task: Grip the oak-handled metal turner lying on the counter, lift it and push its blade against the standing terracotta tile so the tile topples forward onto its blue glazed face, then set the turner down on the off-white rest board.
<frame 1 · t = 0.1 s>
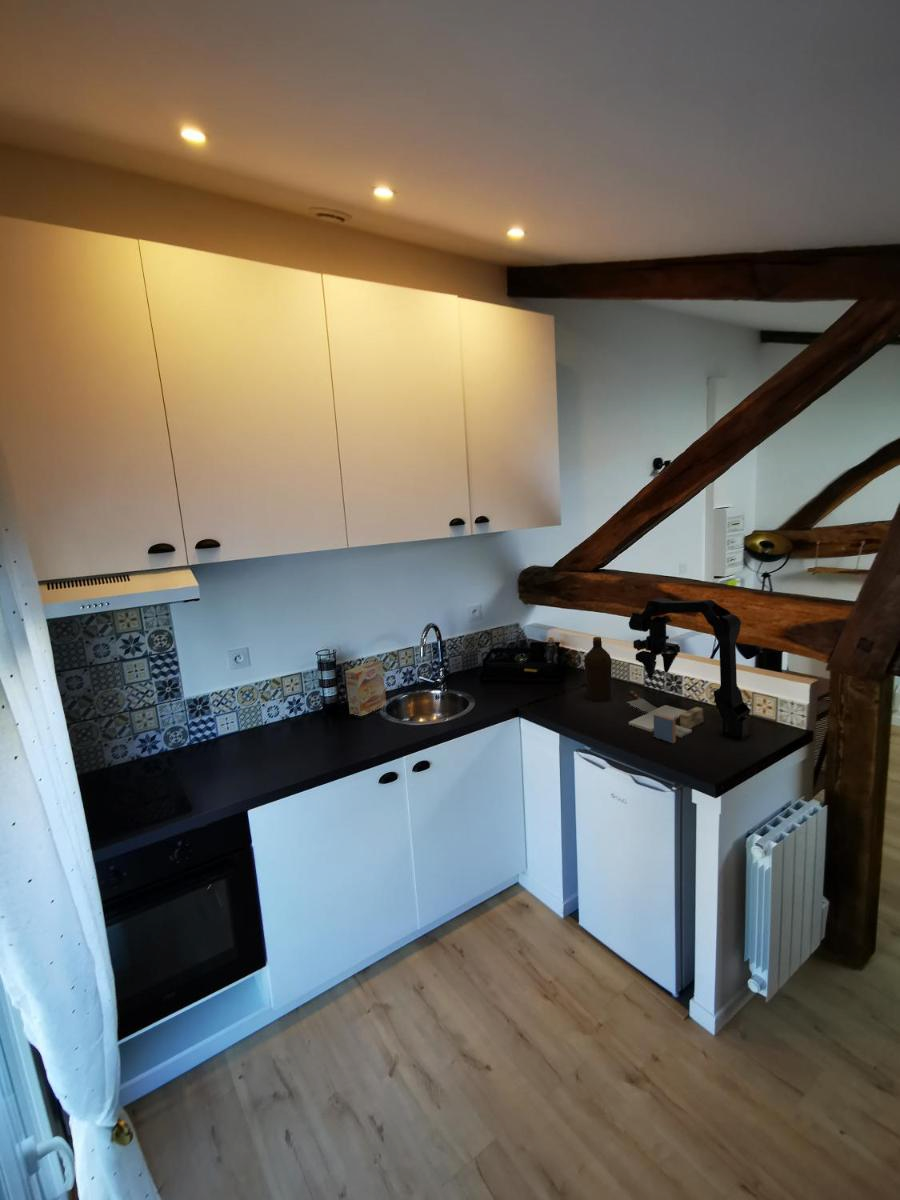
hand: (658, 675, 203), 15 cm above the worktop, tool pointing down, fingers open, 9 cm apart
rest board: (658, 719, 201), on the worktop
kitchen cleaver: (638, 705, 217), on the worktop
olive oil: (599, 698, 226), on the worktop
coffeecake box: (368, 712, 231), on the worktop
tile: (664, 739, 185), on the worktop
turner: (688, 726, 192), on the worktop
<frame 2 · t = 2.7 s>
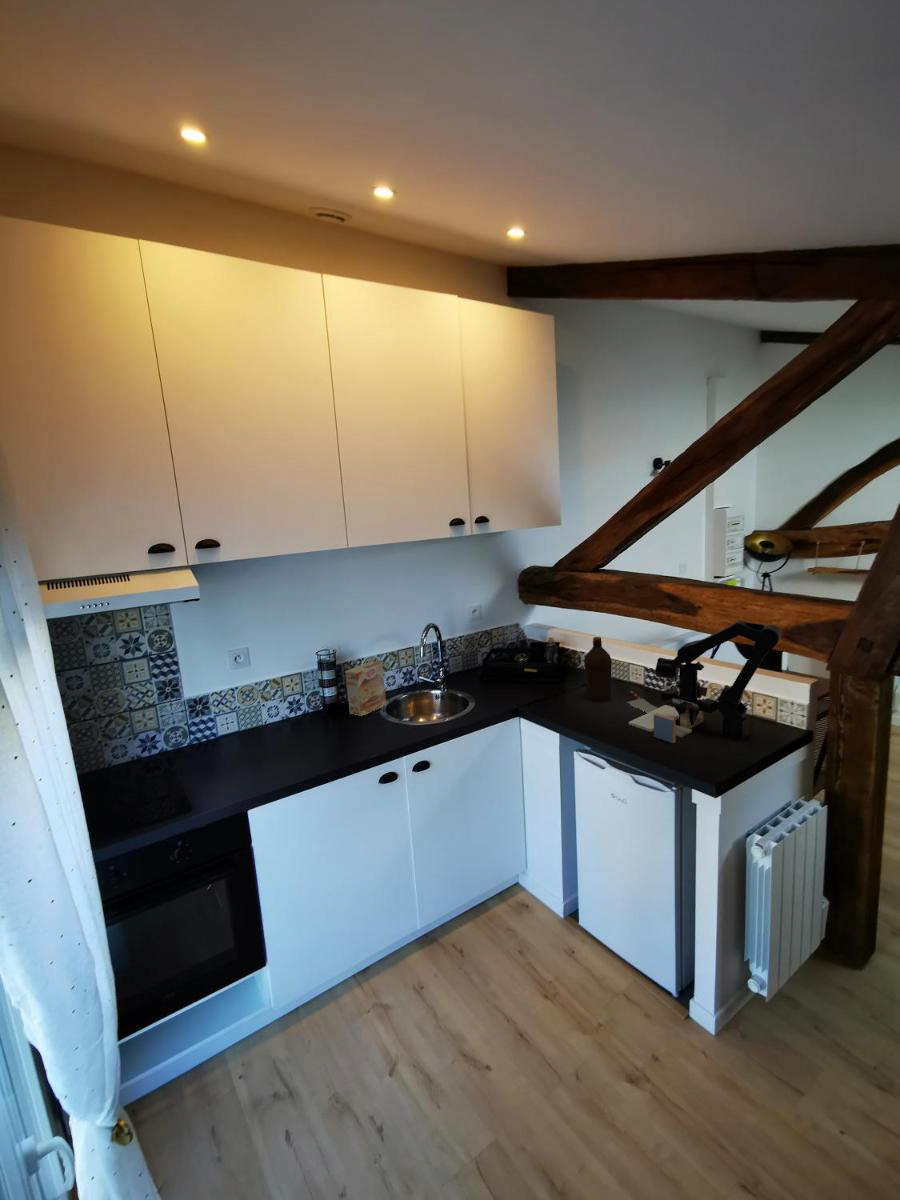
hand: (688, 724, 192), 1 cm above the worktop, tool pointing down, fingers closed on turner, 2 cm apart
kitchen cleaver: (638, 704, 217), on the worktop, touching rest board
turner: (688, 726, 192), on the worktop, touching gripper
everything else where it was.
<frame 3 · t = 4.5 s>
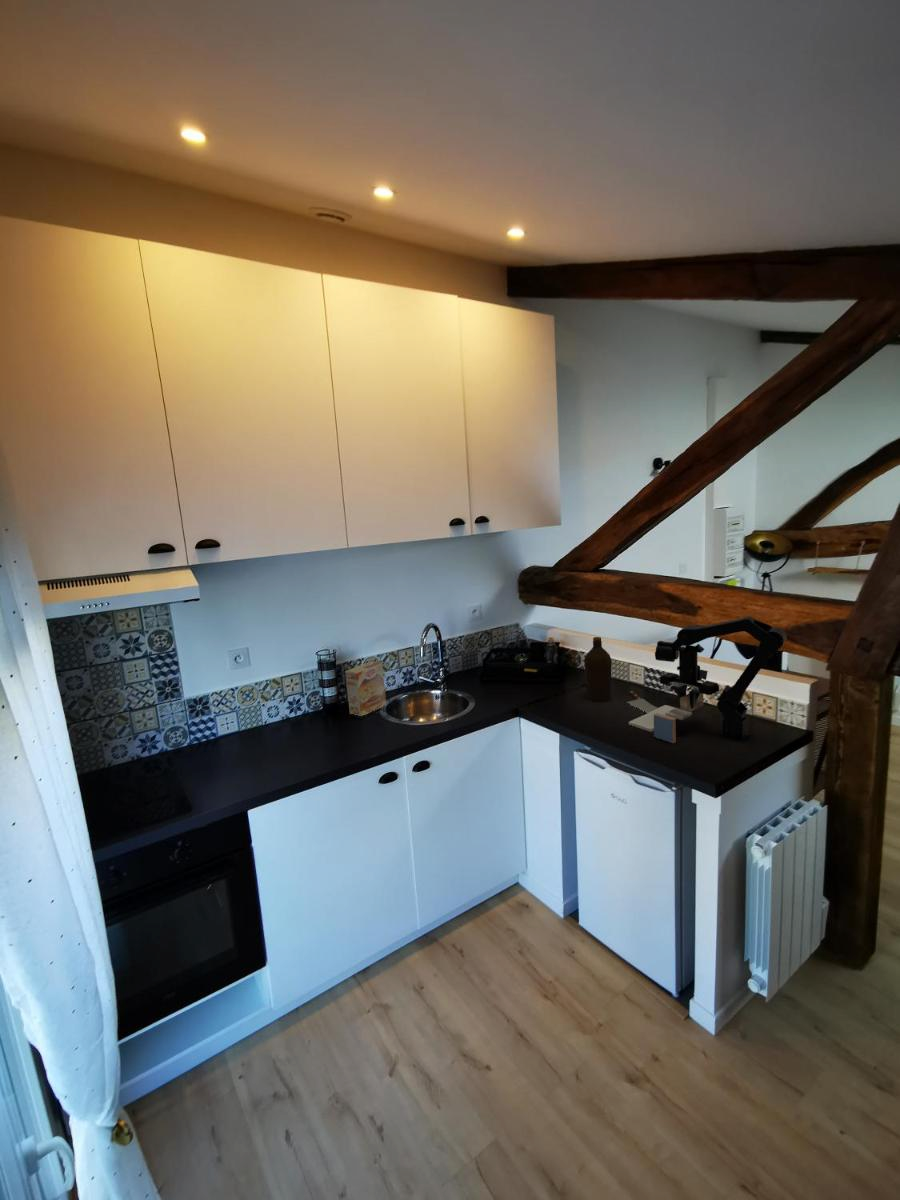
hand: (688, 707, 191), 7 cm above the worktop, tool pointing down, fingers closed on turner, 2 cm apart
turner: (688, 710, 191), point 6 cm above the worktop, touching gripper
everything else where it was.
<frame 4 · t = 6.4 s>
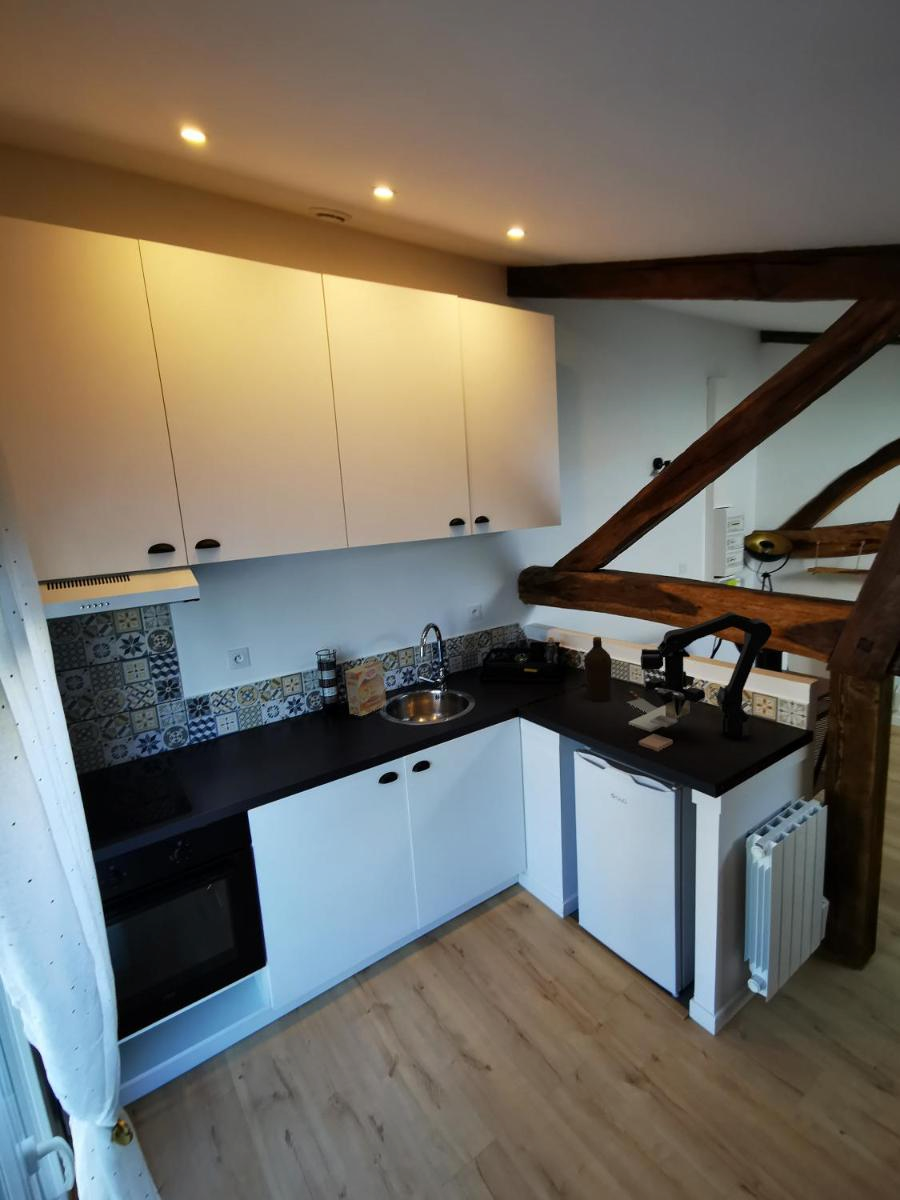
hand: (674, 714, 187), 7 cm above the worktop, tool pointing down, fingers closed on turner, 2 cm apart
tile: (663, 738, 184), on the worktop, tilted 90°
turner: (674, 717, 187), point 6 cm above the worktop, touching gripper
everything else where it was.
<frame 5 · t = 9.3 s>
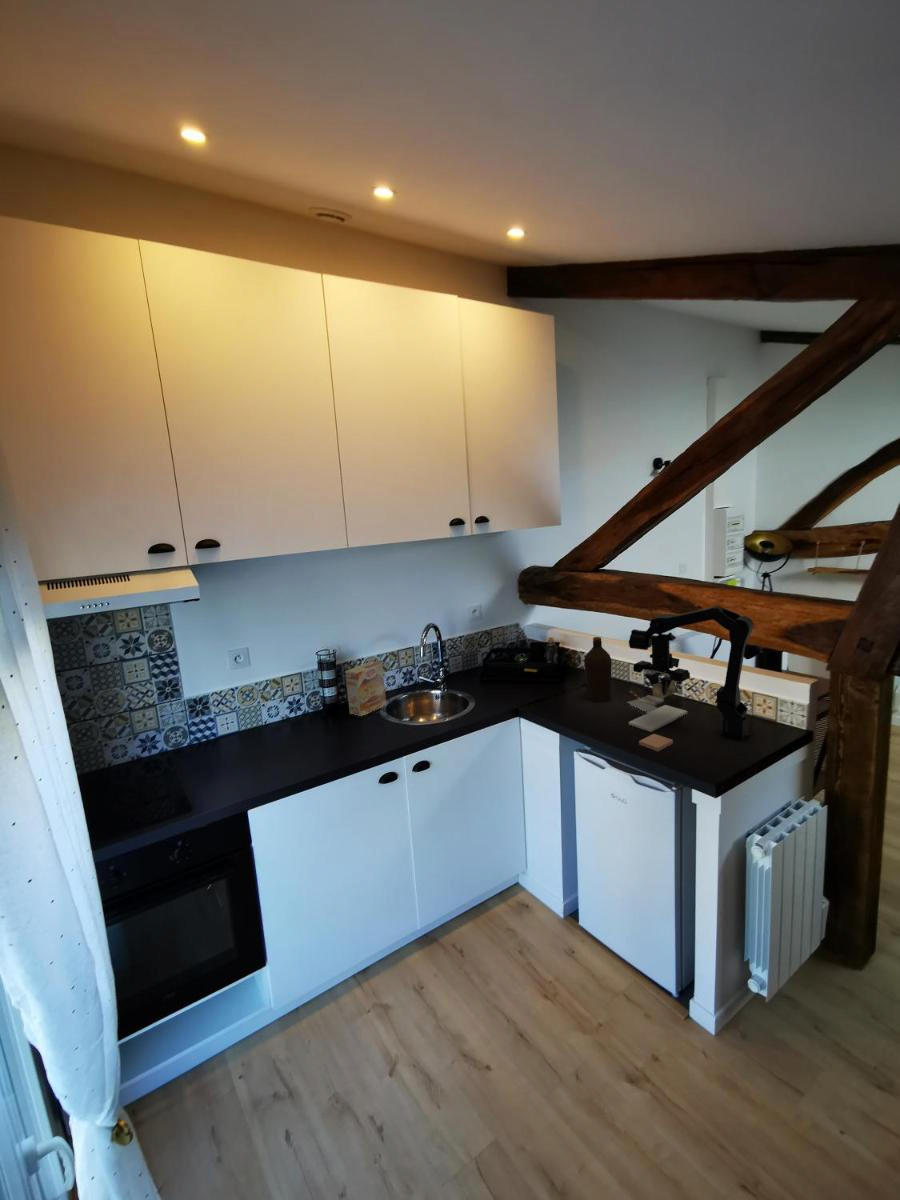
hand: (660, 694, 197), 10 cm above the worktop, tool pointing down, fingers closed on turner, 2 cm apart
kitchen cleaver: (638, 704, 217), on the worktop
turner: (660, 697, 197), point 9 cm above the worktop, touching gripper
everything else where it was.
when the fingers open (3 cm above the worktop, at t = 11.4 s): turner stays where it is, resting on rest board.
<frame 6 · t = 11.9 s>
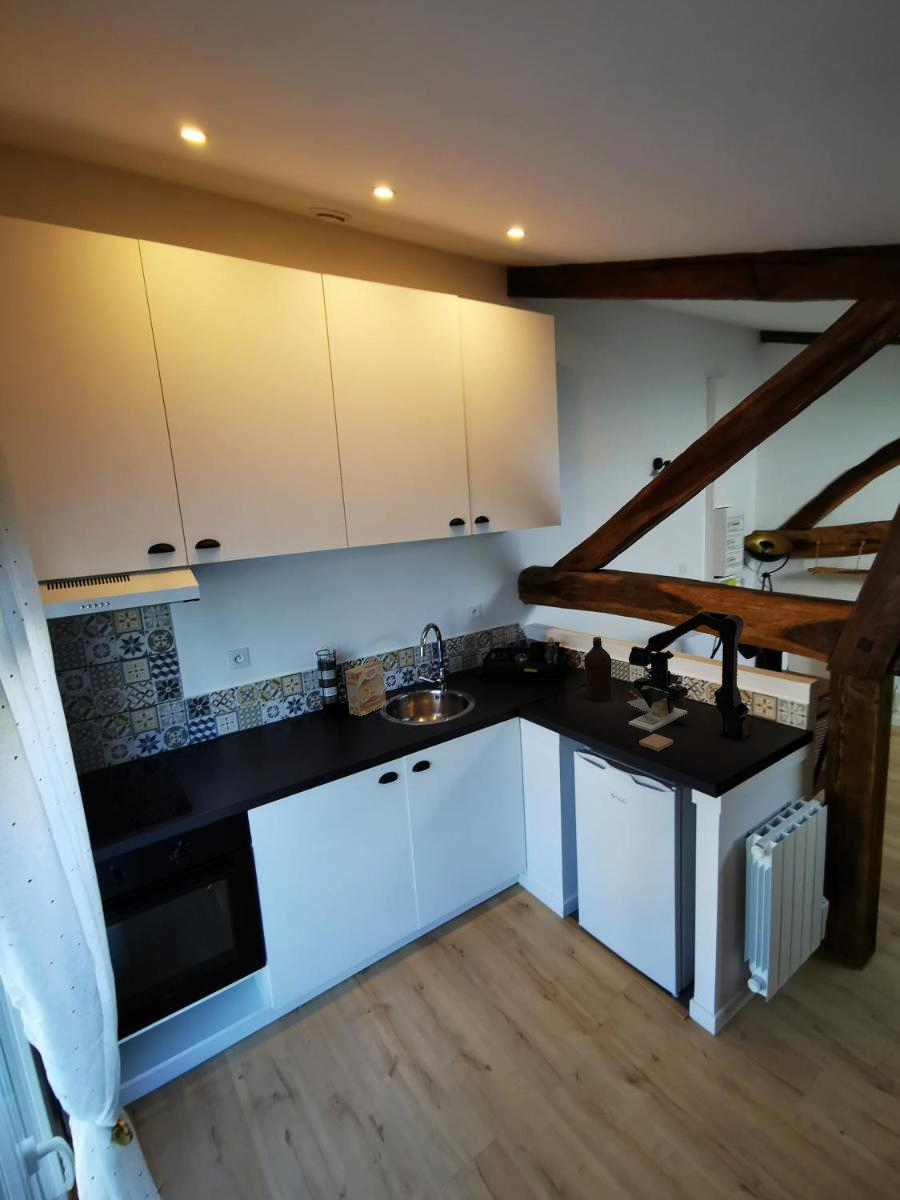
hand: (660, 710, 201), 3 cm above the worktop, tool pointing down, fingers open, 8 cm apart
turner: (660, 715, 201), point 1 cm above the worktop, touching rest board
everything else where it was.
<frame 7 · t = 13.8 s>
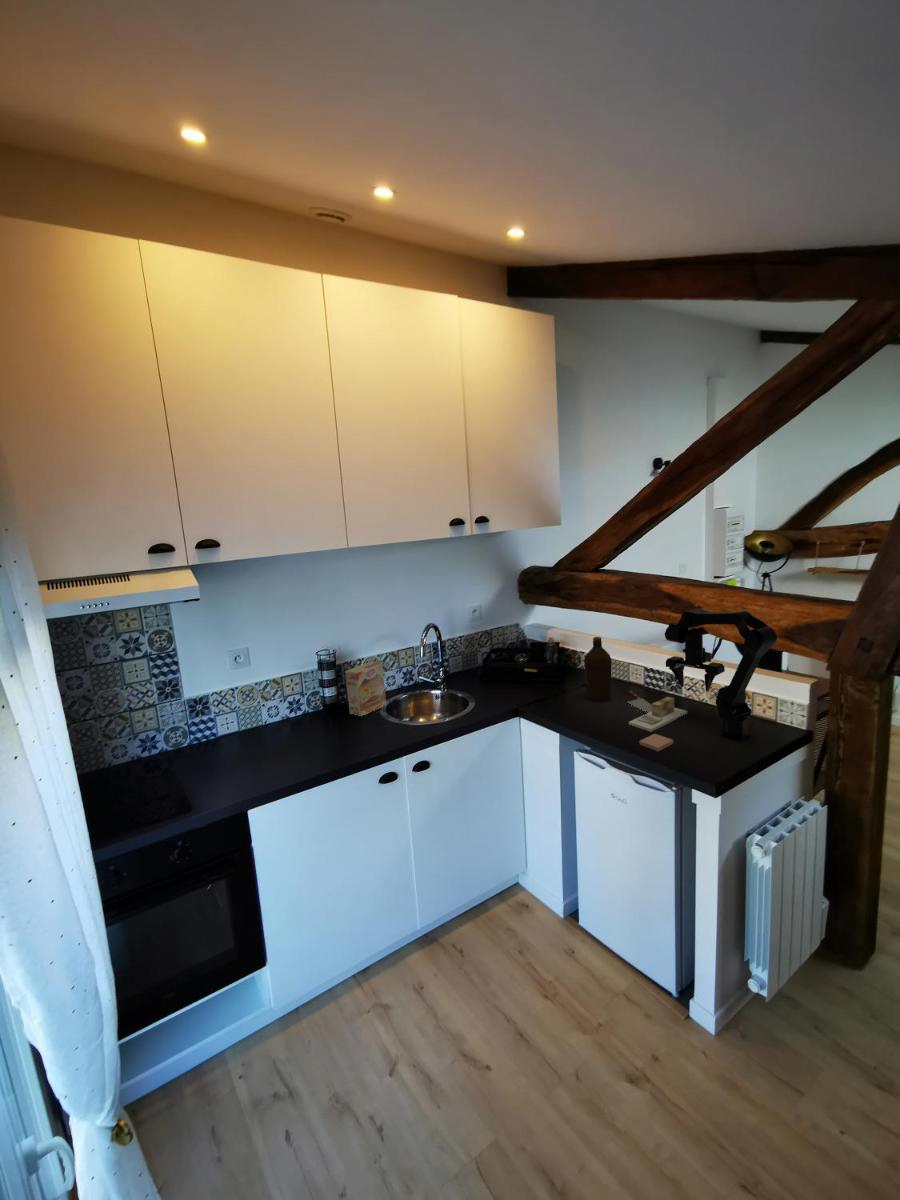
hand: (694, 689, 196), 11 cm above the worktop, tool pointing down, fingers open, 9 cm apart
nothing on the worktop moved.
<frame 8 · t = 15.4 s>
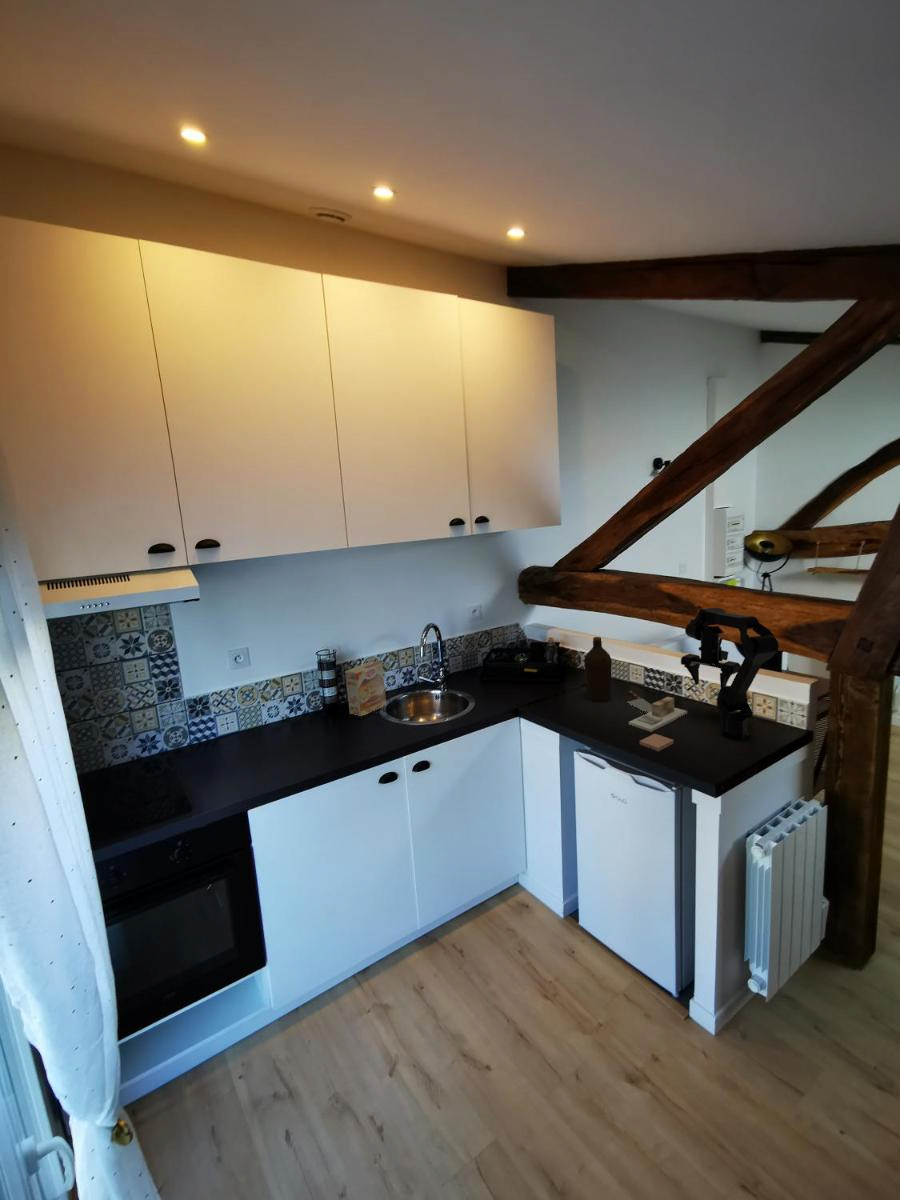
hand: (709, 687, 194), 12 cm above the worktop, tool pointing down, fingers open, 9 cm apart
kitchen cleaver: (638, 704, 217), on the worktop, touching rest board
everything else where it was.
at the end: tile tilted 90°; tile inside the target area (2.9 cm from its centre), on the worktop; turner 0.1 cm from the target spot on the rest board, point 1.0 cm above the rest board's base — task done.
